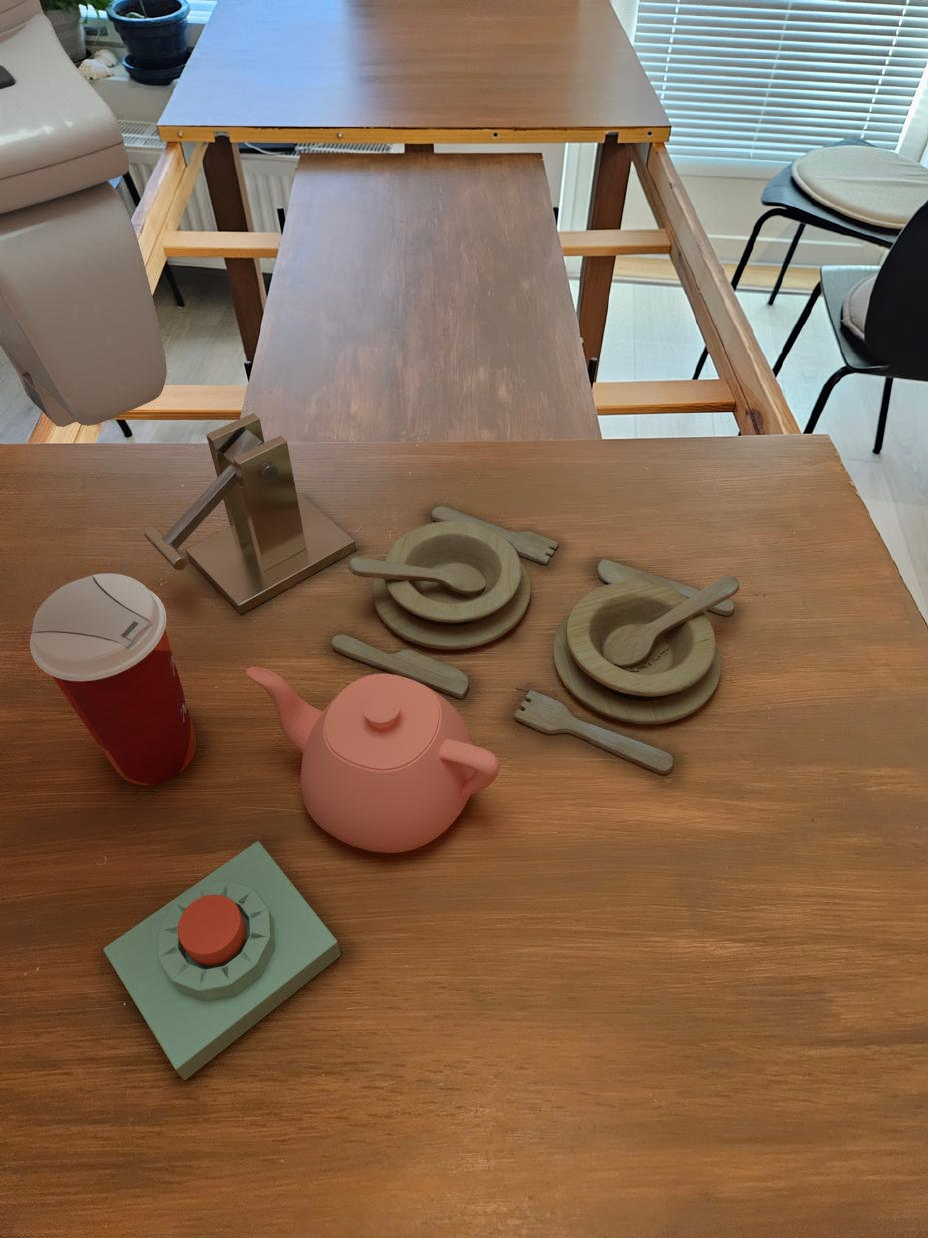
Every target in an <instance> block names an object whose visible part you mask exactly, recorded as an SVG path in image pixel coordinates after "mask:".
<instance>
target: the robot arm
mask: <svg viewBox="0 0 928 1238" xmlns="http://www.w3.org/2000/svg"><path fill="white" fill-rule="evenodd" d="M124 141H125V140H124V136H123V134H122V131H121V128H120V124H119V122H118V119H117V117H116V115H115V113H114V112H113V110H112V109H111V108H110V106H109V105H108V103H107V102H106V100H104V98H103V97H102V96H101V95H100V94H99V93H98V92H97V90H96V89H95V88H94V87H93V86H92V85H91V84H90V82H89V80H87V79H86V77H85V76H84V75H83V74H82V73H81V71H80V70H79V69H78V67H77V66H76V64H75V63H74V62H73V61H72V59H71V57H70V56H69V55H68V53H67V52H66V50H65V48H64V47H63V45H62V43H61V41H60V39H59V38H58V35H57V34H56V31H55V28H54V26H53V24H52V21H51V20H50V19H49V18H48V16H46V14H44V11H43V9H42V5H41V2H40V0H0V348H1V349H2V351H3V353H4V354H5V356H6V357H7V360H9V362H10V363H11V365H12V367H13V368H14V370H15V371H16V373H17V376H18V378H19V380H20V383H21V385H22V387H23V390H24V392H25V394H26V396H27V397H28V398H29V399H30V401H32V403H33V404H34V405H35V406H36V407H38V409H39V410H41V412H42V413H43V414H44V415H45V416H46V417H47V418H48V419H49V420H50V421H51V423H52V424H53V425H55V426H56V427H60V428H65V427H67V426H70V425H72V424H75V423H77V424H79V425H81V426H87V427H91V426H95V425H98V424H101V423H104V422H106V421H109V420H112V419H114V418H116V417H119V416H121V415H124V414H126V413H128V412H131V411H133V410H135V409H138V408H140V407H142V406H144V405H146V404H149V403H151V402H153V401H155V400H156V399H158V398H159V397H160V396H161V395H162V393H163V390H164V387H165V384H166V379H167V372H168V368H167V359H166V353H165V347H164V343H163V338H162V333H161V329H160V324H159V320H158V315H157V310H156V307H155V302H154V298H153V297H154V296H153V293H152V289H151V284H150V281H149V277H148V273H147V268H146V265H145V260H144V258H143V254H142V250H141V248H140V247H141V246H140V243H139V239H138V236H137V233H136V230H135V227H134V224H133V222H132V219H131V216H130V213H129V212H128V209H127V207H126V205H125V203H124V201H123V199H122V197H121V196H120V194H119V192H118V191H117V189H116V188H115V187H114V185H113V183H112V182H110V181H112V180H114V179H117V178H120V177H122V176H124V175H126V174H127V173H128V172H129V169H130V165H129V164H130V163H129V157H128V153H127V148H126V144H125V142H124Z"/></svg>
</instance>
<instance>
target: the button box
mask: <svg viewBox="0 0 928 1238" xmlns="http://www.w3.org/2000/svg"><path fill="white" fill-rule="evenodd" d="M207 895H223V896H226V897H228V898H230V899H231V900H232V901H234V902H235V904H236V905H237V906H238V908H239V910H240V913H241V915H242V917H243V919H244V922H245V925H246V935H245V939H244V942H243V944H242V946H241V948H240V949H239V951H238V952H237V953H236V954H235V955H234V956H233V957H232V958H231V959H229V960H228V961H226V962H224V963H221V964H218V965H212V966H206V965H201V964H199V963H196V962H195V961H193V960H192V959H191V958H190V957H189V955H188V954H187V952H186V951H185V949H184V947H183V946H182V944H181V942H180V940H179V937H178V924H179V920H180V918H181V916H182V914H183V912H184V911H185V910H186V908H187V907H188V906H189V905H190V904H191V903H193V902H194V901H195V900H197V899H199V898H201V897H204V896H207ZM102 951H103V953H104V954H105V956H106V958H107V960H108V961H109V962H110V964H111V966H112V967H113V969H114V971H115V972H116V974H117V976H118V977H119V979H120V981H121V982H122V984H123V986H124V988H125V989H126V991H127V992H128V994H129V995H130V996H129V997H131V999H132V1000H133V1003H134V1004H135V1006H136V1007H137V1009H138V1011H139V1012H140V1014H141V1016H142V1018H143V1019H144V1020H145V1022H146V1024H147V1026H148V1028H149V1029H150V1031H151V1032H152V1034H153V1036H154V1038H155V1039H156V1041H157V1042H158V1044H159V1045H160V1047H161V1049H162V1051H163V1052H164V1054H165V1055H166V1057H167V1059H168V1060H169V1062H170V1064H171V1065H172V1067H173V1069H174V1070H175V1072H177V1074H178V1075H179V1076H180V1078H181V1079H182V1080H183V1081H186V1080H187V1079H189V1078H190V1077H192V1076H193V1075H194V1074H195V1073H197V1072H198V1071H199V1070H200V1069H201V1068H203V1067H204V1066H205V1065H207V1064H208V1063H209V1062H210V1061H212V1060H213V1059H214V1058H215V1057H217V1056H218V1055H219V1054H220V1053H222V1052H223V1051H224V1050H226V1048H228V1047H229V1046H230V1045H231V1044H233V1043H234V1042H236V1040H238V1039H239V1038H240V1037H242V1036H243V1035H245V1033H246V1032H247V1031H249V1030H250V1029H251V1028H252V1027H254V1026H255V1025H256V1024H257V1023H259V1022H261V1020H262V1019H264V1018H266V1016H268V1015H269V1014H270V1013H271V1012H272V1011H273V1010H276V1008H277V1007H279V1006H280V1005H281V1004H283V1003H284V1002H285V1001H287V1000H288V999H289V998H290V997H291V996H293V995H294V994H295V993H296V992H297V991H299V990H300V989H301V988H303V987H304V986H305V985H306V984H307V983H309V982H310V981H311V980H313V979H314V978H315V977H316V976H318V974H320V973H321V972H322V971H323V970H325V969H326V968H327V967H328V966H330V965H331V964H333V963H334V962H335V961H336V960H337V959H338V958H340V957H341V955H342V953H341V950H340V946H339V942H338V940H337V938H336V937H335V936H334V935H333V933H332V932H331V930H329V929H328V927H327V925H326V924H325V923H324V921H322V920H321V918H320V917H319V915H318V914H317V913H316V912H315V910H314V909H313V908H312V907H311V906H310V904H309V903H308V902H307V900H306V898H304V897H303V895H302V894H301V893H300V892H299V890H298V889H297V888H296V887H295V884H293V882H291V880H290V878H289V877H288V876H287V875H286V874H285V872H284V871H283V870H282V869H281V868H280V866H279V865H278V864H277V862H276V860H275V859H274V858H273V857H272V856H271V854H270V853H269V852H268V851H267V849H266V848H265V847H264V846H263V845H262V843H261V842H260V841H259V840H257V841H255V842H254V843H252V844H251V845H250V846H248V847H247V848H245V849H244V850H242V851H241V852H239V853H238V854H236V855H235V856H234V857H233V858H231V859H229V860H228V861H227V862H225V863H224V864H222V865H221V866H219V867H218V868H217V869H215V870H214V871H212V872H211V873H209V874H208V875H207V876H205V877H203V878H202V879H201V880H199V881H198V882H196V883H195V884H193V885H192V886H191V887H190V888H188V889H186V890H185V891H183V892H182V893H181V894H179V895H178V896H176V897H175V898H173V899H172V900H171V901H169V902H168V903H167V904H165V905H163V906H162V907H160V908H159V909H158V910H157V911H155V912H153V913H152V914H150V915H149V916H147V917H146V918H145V919H144V920H142V921H141V922H139V923H137V924H136V925H135V926H134V927H132V928H131V929H129V930H127V931H126V932H125V933H123V934H122V935H121V936H119V937H117V938H116V939H115V940H113V941H112V942H111V943H109V944H107V945H106V946H105V947H103V949H102Z"/></svg>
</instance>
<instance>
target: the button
mask: <svg viewBox="0 0 928 1238" xmlns="http://www.w3.org/2000/svg"><path fill="white" fill-rule="evenodd" d="M245 935H246V925H245V922H244V919H243V917H242V915H241V913H240V910H239V908H238V906H237V905H236V904H235V902H234V901H232V900H231V899H230V898H228V897H226V896H223V895H207V896H204V897H201V898H199V899H197V900H195V901H194V902H193V903H191V904H190V905H189V906H188V907H187V908H186V910H185V911H184V912H183V914H182V916H181V918H180V920H179V924H178V937H179V940H180V942H181V944H182V946H183V947H184V949H185V951H186V952H187V954H188V955H189V957H190V958H191V959H192V960H193V961H195V962H196V963H199V964H201V965H206V966H212V965H218V964H221V963H224V962H226V961H228V960H229V959H231V958H232V957H233V956H234V955H235V954H236V953H237V952H238V951H239V949H240V948H241V946H242V944H243V942H244V939H245Z"/></svg>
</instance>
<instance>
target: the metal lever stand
mask: <svg viewBox="0 0 928 1238" xmlns="http://www.w3.org/2000/svg"><path fill="white" fill-rule="evenodd" d="M246 429H247V430H249V431H250V432H251V433H252V434H253V435H255V436H256V437H257V438H258V439H259V440H260V441H262V442H263V443H264V444H261V445H259V446H257V447H255V448H253V449H251V450H249V451H247V452H244V453H242V454H240V455H238V456H236V457H234V458H233V462H234V466H235V470H236V474H237V478H238V484H237V485H236V486H235V487H234V488H233V489H232V490H231V491H230V492H229V493H228V494H227V495H226V497H225V498H224V499H223V500H222V501H223V504H224V507H225V512H226V515H227V518H228V522H229V527H227V528H225V529H223V530H221V531H218V532H217V533H215V534H213V535H211V536H209V537H207V538H206V539H204V540H201V541H199V542H197V543H196V544H193V545H191V546H189V547H187V548H185V553H186V557H187V560H188V561H190V562H191V564H193V566H194V567H196V569H197V570H198V571H199V572H200V573H201V574H202V575H203V576H204V578H206V579H207V580H208V581H209V582H210V583H211V584H212V586H214V588H215V589H216V590H217V591H218V592H219V593H220V594H221V595H222V596H223V597H224V599H226V600H227V602H229V603H230V605H231V606H233V607H234V608H235V610H236V611H237V612H238V613H239V614H240V615H244V614H245V613H247V612H249V611H251V610H252V609H254V608H256V607H258V606H259V605H261V604H263V603H265V602H266V601H268V600H270V599H272V598H274V597H275V596H277V595H279V594H281V593H283V592H285V591H287V590H288V589H289V588H290V589H291V587H293V586H295V585H296V584H299V583H300V582H302V581H304V580H306V579H308V578H309V577H311V576H313V575H315V574H316V573H318V572H320V571H322V570H323V569H325V568H327V567H329V566H331V565H333V564H334V563H336V562H338V561H339V560H342V559H343V558H345V557H347V556H348V555H350V554H353V553H354V552H355V551H357V546H356V545H357V544H356V540H355V539H353V537H352V536H350V535H349V534H348V533H346V532H345V531H344V530H343V529H342V527H340V526H339V525H337V524H336V523H335V521H333V520H332V519H331V518H329V517H328V516H327V515H326V514H325V513H324V512H322V510H320V509H319V508H318V507H317V506H315V504H313V503H312V502H311V501H310V500H309V499H307V497H305V496H304V495H303V494H302V493H300V492H299V491H298V492H297V488H296V482H295V478H294V472H293V466H292V461H291V456H290V455H291V454H290V451H289V446H288V440H286V439H285V437H282V436H281V435H279V436H276V437H274V438H271V439H270V440H268V441H265V438H264V433H263V428H262V423H261V419H260V417H259V416H257V415H256V414H255V413H250V414H248V415H246V416H244V417H242V418H239V419H237V420H235V421H232V422H230V423H228V424H226V425H223V426H222V427H220V428H217V429H215V430H213V431H210V432H208V433H206V439H207V444H208V448H209V451H210V454H211V458H212V462H213V467H214V469H215V474H216V477H217V478H218V477H219V476H220V475H221V474H222V473H223V471H224V470H225V469H226V468H227V467H228V466H229V465H230V464H231V463H232V462H231V461H230V460H228V459H227V458H226V457H225V456H224V455H223V454H224V453H225V452H226V451H227V450H228V449H229V448H230V447H231V446H232V445H233V443H234V442H235V441H236V440H237V439H238V438H239V437H240V436H241V435H242V434H243V433H244V432H245V430H246ZM217 478H216V479H217Z"/></svg>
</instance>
